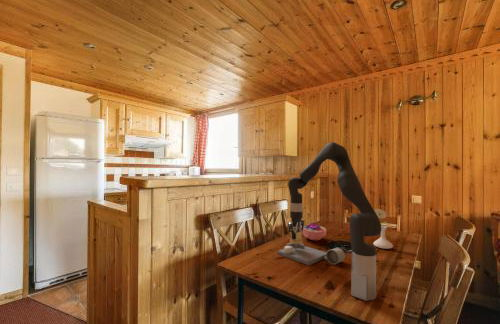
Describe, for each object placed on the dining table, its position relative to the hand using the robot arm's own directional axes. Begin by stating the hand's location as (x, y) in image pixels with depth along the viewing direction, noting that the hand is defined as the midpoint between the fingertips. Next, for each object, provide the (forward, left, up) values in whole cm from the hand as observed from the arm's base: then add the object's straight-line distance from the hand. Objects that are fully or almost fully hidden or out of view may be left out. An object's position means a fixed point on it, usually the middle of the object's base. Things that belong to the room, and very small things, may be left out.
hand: (296, 238), depth 148 cm
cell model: (+33, +9, -9) cm, 35 cm away
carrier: (0, -5, -9) cm, 10 cm away
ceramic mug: (+5, -22, -9) cm, 24 cm away
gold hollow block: (0, 0, -2) cm, 2 cm away
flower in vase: (+53, -30, -9) cm, 62 cm away
